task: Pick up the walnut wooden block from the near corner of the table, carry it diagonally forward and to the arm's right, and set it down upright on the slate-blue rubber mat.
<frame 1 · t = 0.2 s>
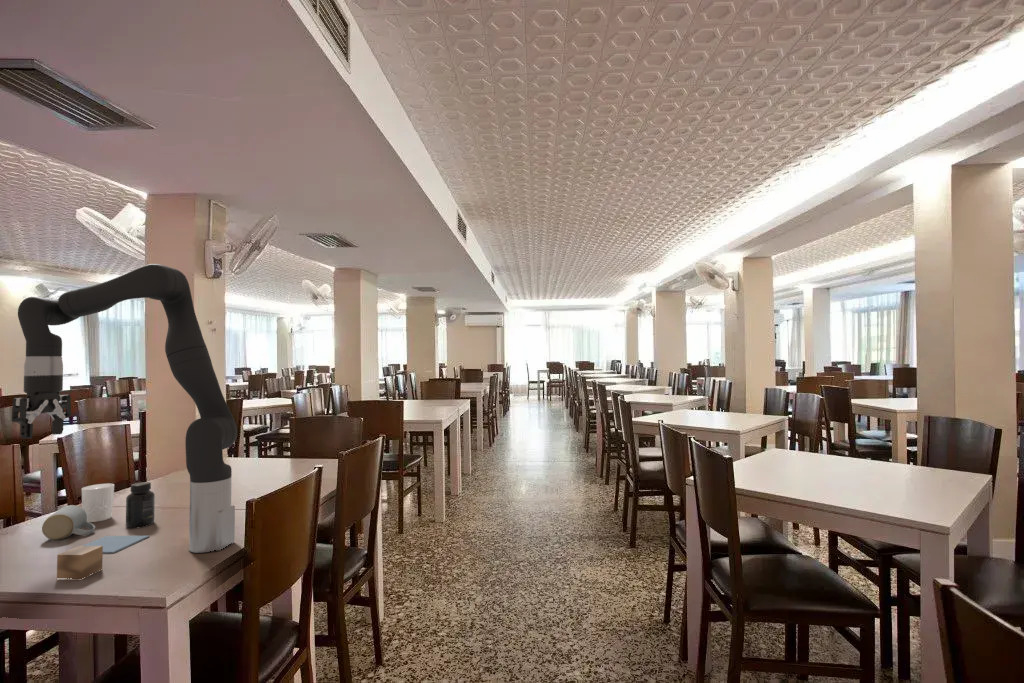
hand: (42, 436, 132), 29 cm above the table, tool pointing down, fingers open, 8 cm apart
walnut block: (79, 575, 114), on the table
slate mat: (109, 545, 133), on the table
supplement bottle: (140, 525, 150), on the table
ceramic mug: (70, 536, 141), on the table
white cup: (97, 519, 156), on the table
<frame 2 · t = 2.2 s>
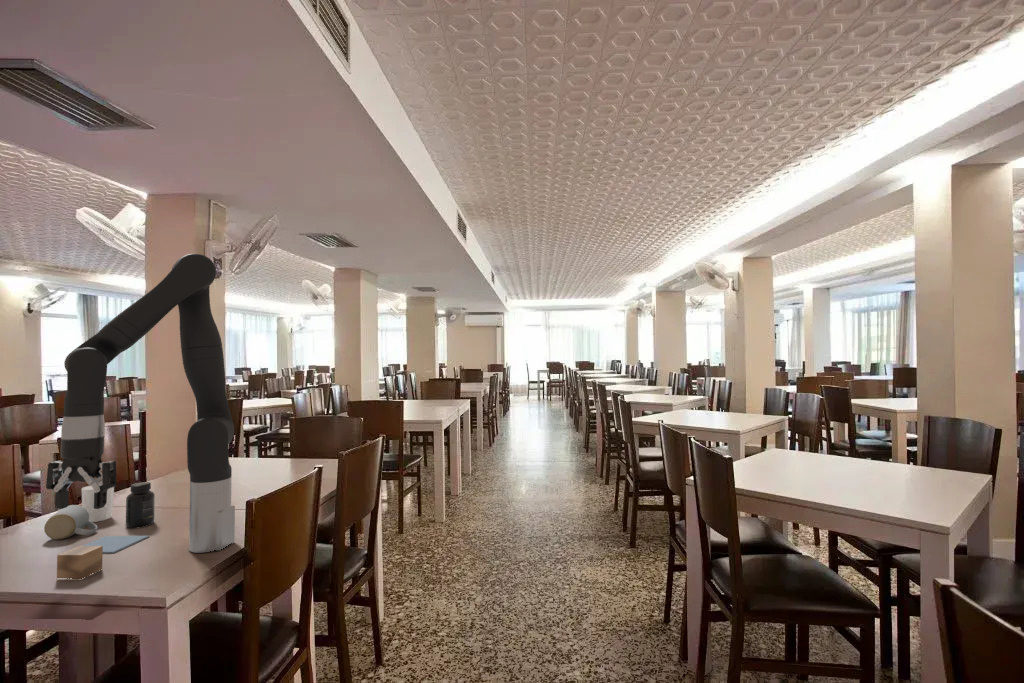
hand: (80, 508, 114), 15 cm above the table, tool pointing down, fingers open, 8 cm apart
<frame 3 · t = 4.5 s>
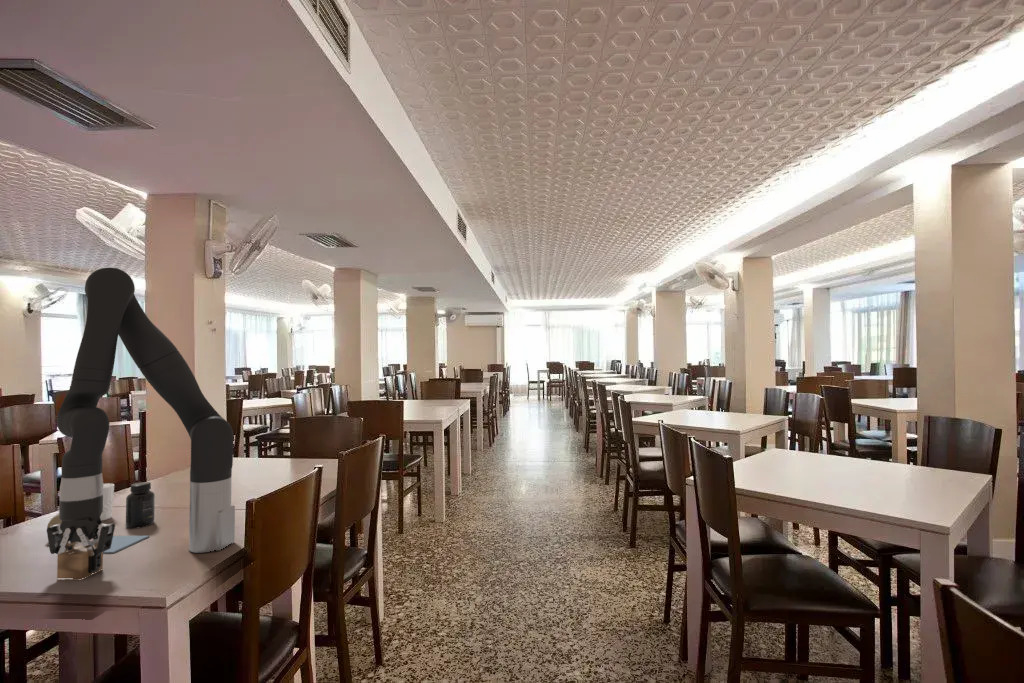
hand: (80, 571, 114), 1 cm above the table, tool pointing down, fingers closed on walnut block, 5 cm apart
walnut block: (80, 574, 114), on the table, touching gripper
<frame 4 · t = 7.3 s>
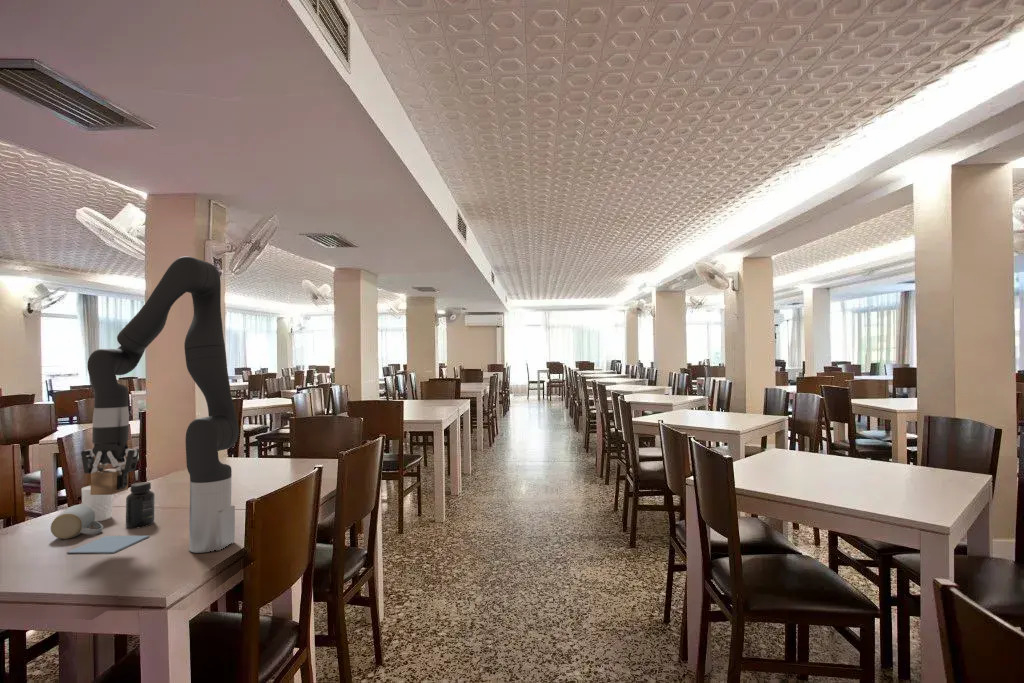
hand: (109, 489, 133), 15 cm above the table, tool pointing down, fingers closed on walnut block, 5 cm apart
walnut block: (109, 492, 133), point 14 cm above the table, touching gripper
when the fingers open (3 cm above the table, at t = 10.5 s): walnut block drops 1 cm, resting on slate mat.
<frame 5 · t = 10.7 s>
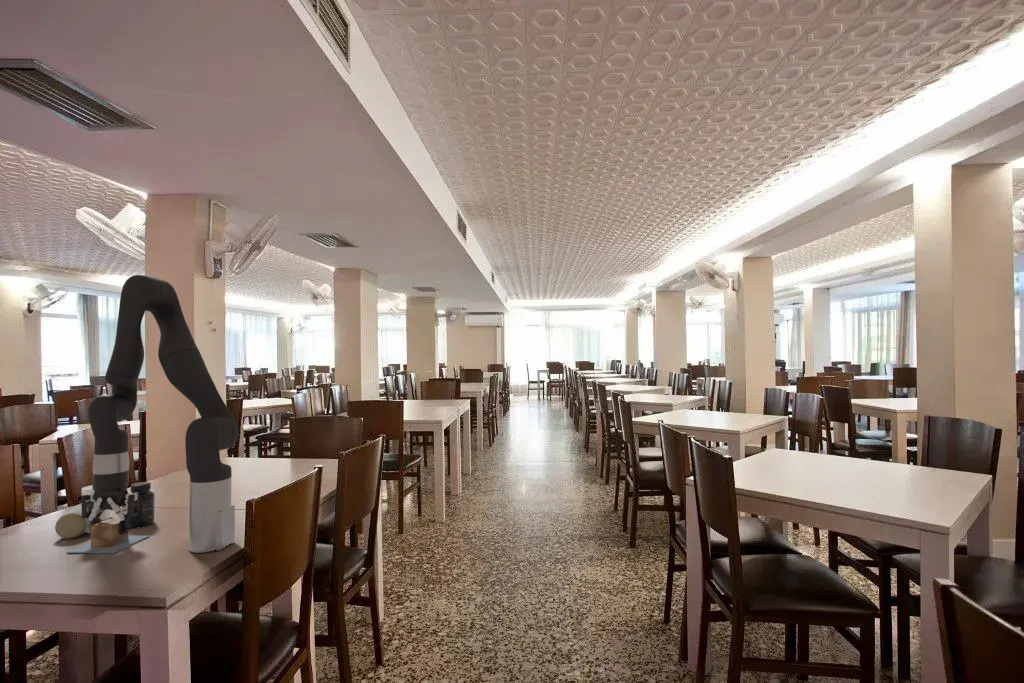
hand: (110, 533, 133), 3 cm above the table, tool pointing down, fingers open, 7 cm apart
walnut block: (109, 543, 133), resting on slate mat
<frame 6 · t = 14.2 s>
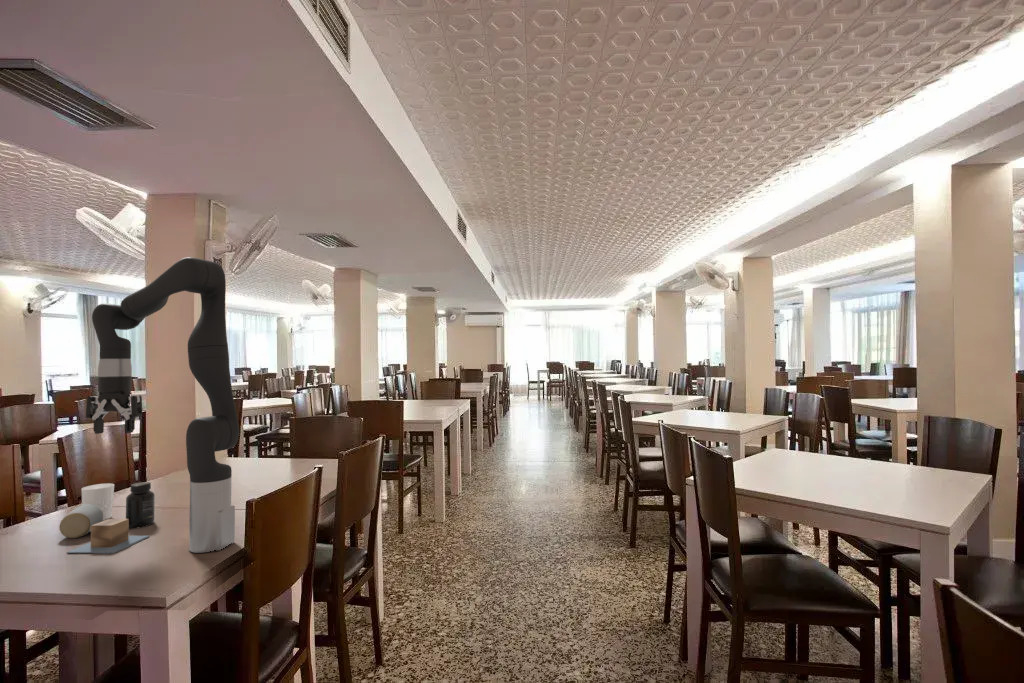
hand: (114, 433, 142), 28 cm above the table, tool pointing down, fingers open, 8 cm apart
at the end: walnut block inside the target area on the slate mat (0.0 cm from its centre), point 0.4 cm above the slate mat's base; walnut block tilted 0°; the gripper is holding nothing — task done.
